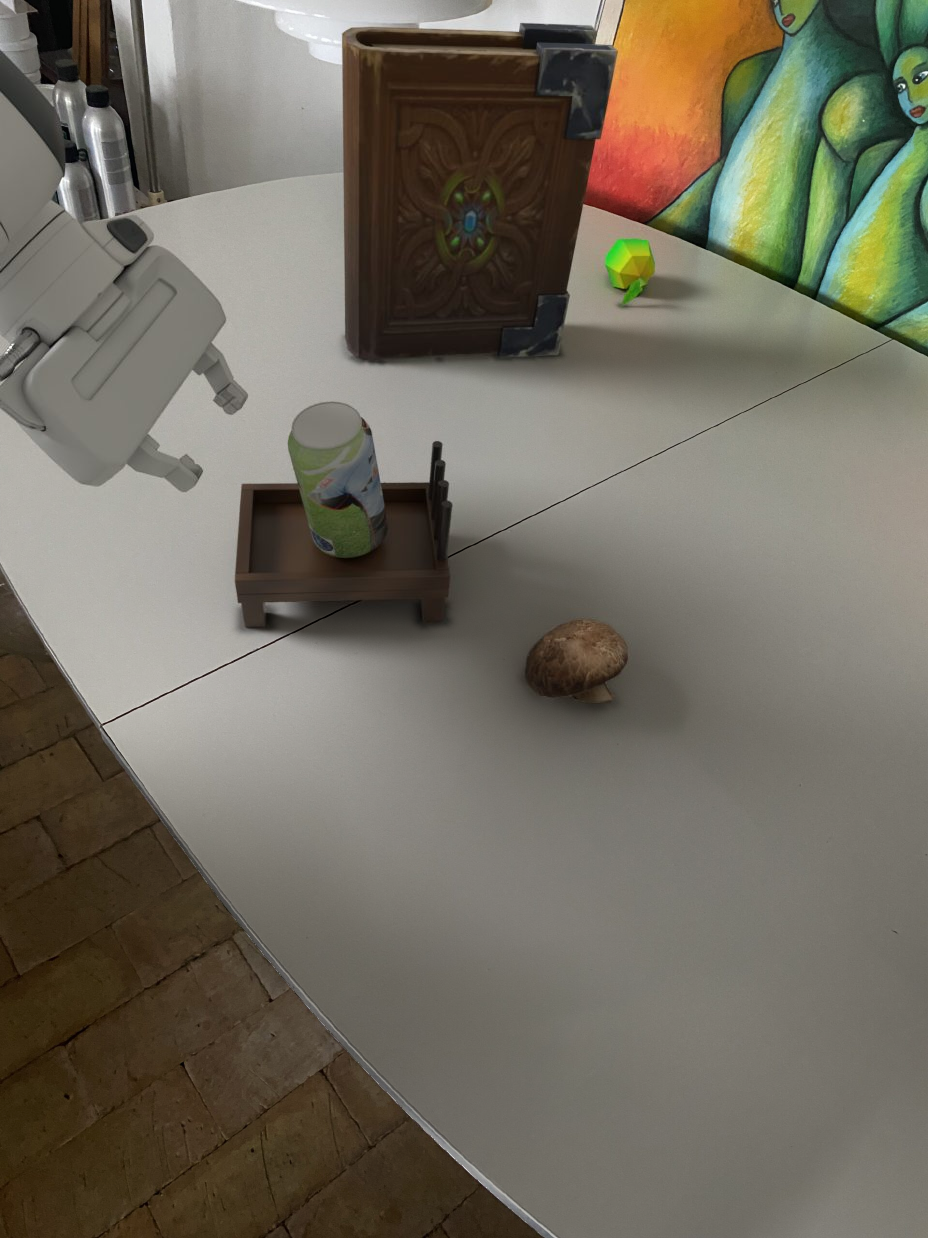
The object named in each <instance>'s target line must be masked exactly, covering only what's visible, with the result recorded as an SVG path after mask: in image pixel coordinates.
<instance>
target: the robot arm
mask: <svg viewBox="0 0 928 1238" xmlns="http://www.w3.org/2000/svg"><path fill="white" fill-rule="evenodd" d="M63 133H64V132H63V128H62V121H61V117H60V115H59V113H58V111H57V110H56V109H55V108H54V106H53V105H52V104H51V102H50V101H49V100H48V98H47V97H46V96H45V95H44V94H43V93H42V92H41V91H40V89H39V88H38V87H37V86H36V85H35V84H34V83H33V82H32V80H30V78H28V76H27V75H26V74H25V73H24V72H23V71H22V70H21V69H20V68H19V67H18V65H16V64H15V63H14V62H13V60H11V59H10V58H9V56H7V55H6V54H5V53H4V52H3V51H2V49H0V336H1V337H2V338H3V339H4V340H6V341H7V342H8V343H9V346H8V347H7V348H6V350H5V351H4V352H3V353H2V354H1V355H0V383H1V382H2V383H1V384H0V410H1V411H3V413H5V414H7V415H8V416H9V417H10V418H11V419H13V421H15V422H16V424H17V425H18V426H19V427H20V429H21V430H22V431H23V432H24V433H25V434H26V435H27V436H28V437H29V438H30V439H31V440H32V441H33V442H34V443H35V444H36V445H37V447H39V449H41V450H42V451H43V452H44V454H45V455H46V456H47V457H48V458H50V460H52V461H53V462H54V463H55V464H56V465H57V466H58V467H59V468H60V469H61V470H62V471H64V472H65V473H66V474H67V475H68V476H69V477H71V478H72V479H73V480H74V481H75V482H77V483H79V484H81V485H85V486H91V487H97V488H98V487H101V486H103V485H104V484H106V483H107V482H108V481H110V480H111V479H112V478H114V477H115V476H117V474H118V473H119V472H120V471H122V470H123V469H124V468H125V466H127V465H128V466H129V467H130V468H131V469H132V470H133V471H135V472H137V473H142V474H144V475H149V476H153V477H157V478H159V479H160V478H161V479H163V478H164V480H166V481H167V482H168V483H170V485H172V486H173V487H174V488H175V489H177V490H178V491H179V492H181V493H187V492H189V491H190V490H192V489H193V488H194V487H195V486H196V485H197V484H198V482H199V480H200V478H201V477H202V475H203V472H204V470H203V467H202V466H200V464H197V463H196V462H195V459H193V458H192V457H191V456H189V455H188V454H187V453H185V454H184V455H182V456H181V457H180V458H177V457H175V456H172V455H169V454H167V453H164V452H161V451H159V448H160V446H161V445H160V443H159V442H158V441H157V440H156V439H154V438H153V437H152V436H151V434H149V432H150V431H151V430H152V429H153V427H154V426H155V424H156V423H157V421H158V420H159V418H160V417H161V415H162V414H163V413H164V411H165V410H166V408H167V407H168V405H169V404H171V403H170V402H171V401H172V400H173V398H174V397H175V395H177V393H178V392H179V390H180V388H181V387H182V386H183V384H184V382H185V381H186V380H187V379H188V377H189V375H191V372H194V373H195V374H196V375H197V376H202V375H204V378H205V379H206V381H207V382H208V384H209V386H210V387H211V389H212V390H213V393H214V394H215V396H214V397H213V400H212V401H213V402H214V403H215V404H216V405H217V406H218V407H219V408H222V410H223V412H224V413H226V415H230V416H234V415H235V414H236V413H238V412H239V411H240V410H241V409H242V408H243V407H244V405H245V404H246V402H247V401H248V398H249V394H248V392H247V391H246V390H245V388H243V387H242V386H241V384H239V383H238V382H237V381H236V380H235V379H234V375H233V373H232V371H231V369H230V366H229V365H228V362H227V360H226V358H225V355H224V353H222V351H221V350H219V348H217V347H216V345H214V343H213V341H214V340H215V338H216V337H217V336H218V334H219V333H220V331H221V329H223V327H224V326H225V324H226V322H227V317H226V314H225V310H224V309H223V306H222V303H221V302H220V300H219V299H218V298H217V297H216V295H215V294H214V293H213V292H212V291H211V290H210V289H209V288H208V286H207V285H206V284H205V283H204V282H203V281H202V280H201V279H200V278H199V277H198V276H197V275H196V274H195V273H194V271H192V270H191V269H190V268H189V267H188V266H187V265H186V264H185V263H184V262H183V261H182V260H181V259H180V258H179V257H178V256H177V255H175V254H174V253H173V252H172V251H170V250H169V249H167V248H165V247H164V246H161V245H157V244H152V245H151V243H152V242H153V241H154V237H155V234H154V232H153V230H152V229H151V227H150V226H149V225H148V224H147V223H146V222H145V221H144V220H143V219H142V218H141V217H140V216H138V215H137V214H134V213H126V214H122V215H118V216H113V217H109V218H103V219H96V220H87V221H84V222H82V223H80V222H78V220H76V218H74V216H72V214H70V213H69V212H68V211H67V210H66V209H65V208H64V207H63V206H61V204H59V203H57V202H56V201H54V200H52V199H53V197H54V195H55V193H57V190H58V188H59V186H60V184H61V182H62V179H64V178H65V176H66V147H65V140H64V134H63Z"/></svg>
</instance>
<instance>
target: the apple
mask: <svg viewBox="0 0 928 1238" xmlns="http://www.w3.org/2000/svg"><path fill="white" fill-rule="evenodd" d="M653 255H654V254H653V252H652V248H651V245H650V241H649V239H643V238H617V240H616V241H615V242H614V244H613V245H612V246H611V248H609V251H608V252H607V253H606V255H605V259H604V260H605V261H604V266H605V268H606V272H607V274H608V277H609V280H610V283H611V286H612V287H613V288H618V289H625V293H624V297H623V300H622V303H621V307H623V306H625V305H627V304H628V303H630V302H631V301H633V300H634V299H636V298H638V297H639V296H640V295H641V294H642V292H643V290H645V289H646V287H647V286H648V284H649V282H648V281H649V280H650V279H651V278H652V277H653V275H654V274H655V272H656V261H655V259H654V258H655V257H654V256H653Z"/></svg>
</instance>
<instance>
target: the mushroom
mask: <svg viewBox="0 0 928 1238" xmlns="http://www.w3.org/2000/svg"><path fill="white" fill-rule="evenodd" d="M628 660H629V652H628V644H627V641H626V640H625V638H623V636H622V635H621V634H620V633H619V632H618V631H617V630H616V629H615V628H613V627H612V626H611V625H610V624H608V623H606V622H603V621H598V620H592V619H587V618H581V619H580V618H579V619H573V620H570V621H567V622H565V623H561V624H559V625H557V626H555V627H554V628H552V629H551V630H549V631H548V632H546V633H545V634H544V635H542V636H541V637H540V638H539V639H538V640H537V641H536V642H535V643H534V645H533V646H532V647H531V648H530V650H529V652H528V653H527V655H526V661H525V668H524V678H525V681H526V683H527V684H528V686H529V687H530V688H531V689H532V691H534V692H535V694H536V695H538V696H540V697H541V698H542V697H543V698H551V699H558V698H567V697H571V698H572V699H573V700H574V701H577V702H582V703H590V704H592V703H593V704H600V703H601V704H602V703H608V702H612V701H614V700H615V698H616V697H615V695H614V694H613V692H612V691H611V690H610V688H609V686H608V685H607V683H608V682H609V681H611V680H613V679H615V678H617V677H618V676H619V675H621V673H622V671H623V670H624V668H625V667H626V665H627V663H628Z"/></svg>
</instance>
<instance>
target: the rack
mask: <svg viewBox="0 0 928 1238" xmlns="http://www.w3.org/2000/svg"><path fill="white" fill-rule="evenodd" d="M443 446H444V445H443V442H441V441H439V440H435V441H433V442H432V445H431V457H430V467H429V469H430V470H429V481H427V482H421V481H420V482H381V488H382V494H383V500H384V506H385V511H386V517H387V523H388V530H387V534H386V536H385V538H384V540H383V541H382V542H381V544H380V545H379V546H377V547H376V548H375V549H374V550H372V551H370V552H368V553H366V554H364V555H361V556H358V557H352V558H339V557H334V556H331V555H328V554H326V553H324V552H323V551H321V550H320V549H319V548H318V547H317V546H316V544H315V543H314V540H313V537H312V534H311V530H310V527H309V523H308V519H307V516H306V512H305V508H304V505H303V501H302V498H301V494H300V490H299V487H298V483H297V482H289V483H287V482H282V483H280V482H277V483H275V482H274V483H272V482H271V483H269V482H267V483H241V484H240V485H241V486H240V488H241V489H240V499H239V513H238V514H239V515H238V529H237V539H236V540H237V542H236V556H235V571H234V584H235V586H234V587H235V591H236V592H235V593H236V600H237V603H238V604H240V605H241V611H242V612H241V613H242V617H243V625H244V628H260V627H262V628H263V627H266V623H267V621H266V620H267V609H266V604H267V603H296V602H297V603H300V602H303V603H304V602H305V603H306V602H340V601H377V600H378V601H379V600H380V601H382V600H413V599H414V600H417V599H418V600H419V599H421V607H420V609H421V617H422V622H423V623H434V622H436V623H437V622H443V619H444V613H445V612H444V611H445V605H446V604H445V603H446V599H448V598H449V593H450V586H451V585H450V584H451V577H452V576H451V570H450V569H451V568H450V563H449V556H448V549H449V543H450V542H449V541H450V533H451V522H452V513H453V502H451V501H450V500H448V499H449V491H450V489H449V488H450V482H449V481H448V480H446V479H445V477H446V476H445V475H446V461H445V460H444V459H442V458H443V457H442V455H443Z"/></svg>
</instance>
